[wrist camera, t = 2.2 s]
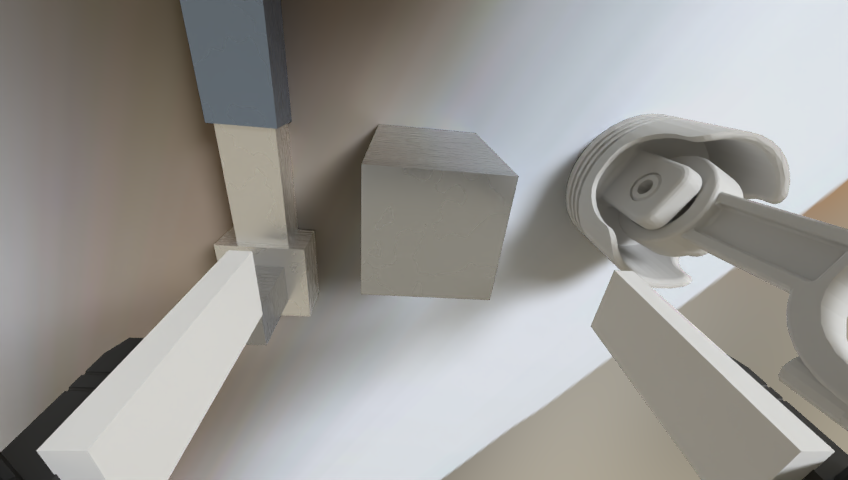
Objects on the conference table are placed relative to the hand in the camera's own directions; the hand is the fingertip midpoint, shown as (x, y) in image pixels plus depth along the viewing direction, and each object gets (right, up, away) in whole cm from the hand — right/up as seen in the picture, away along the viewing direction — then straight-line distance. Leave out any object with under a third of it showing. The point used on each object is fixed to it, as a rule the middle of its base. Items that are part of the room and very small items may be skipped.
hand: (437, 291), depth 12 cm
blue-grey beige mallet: (-11, +8, +10) cm, 17 cm away
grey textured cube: (-1, +7, +12) cm, 13 cm away
